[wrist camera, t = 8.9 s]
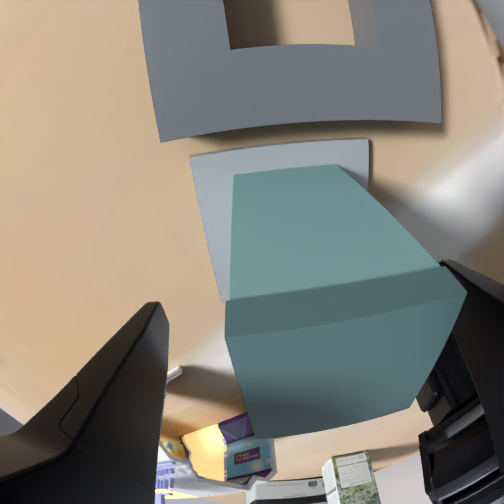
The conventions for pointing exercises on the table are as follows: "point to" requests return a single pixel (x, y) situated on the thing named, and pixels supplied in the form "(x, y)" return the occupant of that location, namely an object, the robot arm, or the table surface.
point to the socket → (288, 70)
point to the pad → (253, 160)
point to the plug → (328, 303)
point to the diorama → (213, 459)
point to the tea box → (288, 492)
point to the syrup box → (350, 480)
